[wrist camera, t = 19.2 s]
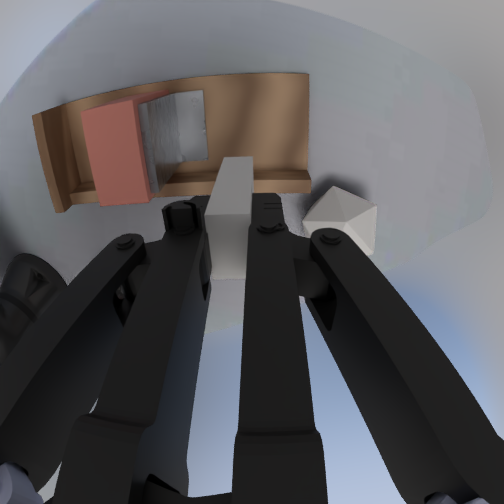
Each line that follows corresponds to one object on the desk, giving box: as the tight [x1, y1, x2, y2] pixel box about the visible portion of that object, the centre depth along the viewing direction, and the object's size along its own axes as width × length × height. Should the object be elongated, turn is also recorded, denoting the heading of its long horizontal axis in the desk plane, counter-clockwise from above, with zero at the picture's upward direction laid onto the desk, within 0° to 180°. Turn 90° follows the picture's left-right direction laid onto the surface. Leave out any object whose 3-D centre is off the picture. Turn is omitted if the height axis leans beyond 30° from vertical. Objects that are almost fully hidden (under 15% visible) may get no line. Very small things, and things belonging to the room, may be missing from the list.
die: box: [302, 186, 377, 256], centre depth 33 cm, size 8×9×10 cm
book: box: [81, 89, 169, 206], centre depth 26 cm, size 5×9×10 cm, turn 2°
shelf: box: [32, 73, 311, 213], centre depth 29 cm, size 30×12×6 cm, turn 92°
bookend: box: [138, 90, 209, 193], centre depth 26 cm, size 4×8×9 cm, turn 2°
